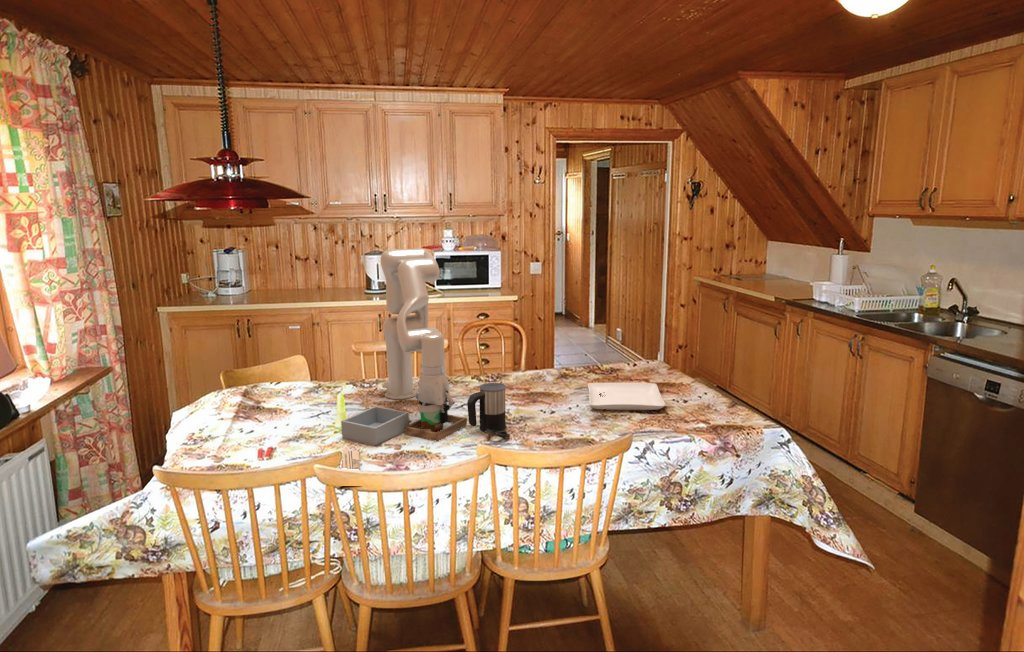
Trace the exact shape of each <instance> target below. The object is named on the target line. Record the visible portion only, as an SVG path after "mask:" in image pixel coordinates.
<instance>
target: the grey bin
mask: <svg viewBox="0 0 1024 652" xmlns="http://www.w3.org/2000/svg"><path fill="white" fill-rule="evenodd" d="M340 422H341V423H340V424H341V434H342V435H341V438H342V439H344V440H349V441H352V442H356V443H361V444H365V445H369V446H372V447H373V446H374V447H379V446H380V445H382V444H384V443H386V442H388V441H390V440H391V439H394V438H395V437H398V436H400V435H401V434H403V433H404V434H405V427H406V426H408V425H410V414H409V412H408V411H403V410H398V409H393V408H387V407H383V406H377V405H374V406H372V407H370V408H368V409H366V410H363V411H362V412H359V413H356V414H355V415H352V416H349V417H346V418H345V419H343V420H341V421H340Z"/></svg>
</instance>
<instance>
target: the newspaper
mask: <svg viewBox="0 0 1024 652" xmlns="http://www.w3.org/2000/svg"><path fill="white" fill-rule="evenodd" d="M342 452H343V460H342V464H341V468H347V469H359V470H361V469H362V468H361V461H360V453H359V452H360V451H358V450H345V451H342ZM361 471H362V470H361Z"/></svg>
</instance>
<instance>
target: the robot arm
mask: <svg viewBox="0 0 1024 652" xmlns="http://www.w3.org/2000/svg"><path fill="white" fill-rule="evenodd" d="M380 266H381V269H382V272H383V274H384V278H385V298H386V299H385V300H386V302H385V303H386V310H387V311H388V313H389V314H391V315H398V316H392V317H388V318H386V319H385V320H384V321H383V324H382V332H383V335H384V341H385V347H386V361H387V362H386V365H387V377H388V378H387V379H388V380H387V381H384V382H383V384H382V386H381V387H382V388H384V389H386V391H385V393H384V396H385V397H386V398H387V399H390V400H406V399H411V398H413V397H415V398H416V400H417V402H418V403H419V406H424V405H425V404H426V403H427V404H433V405H438V406H440V408H441V411H442V412H441V413H440V423H441V424H443V425H444V424H445V423H448V422H447V421H448V412H449V411H450V409H451V408H452V407H453V406H454V405H455V404H456V402H455V400H454V399H453V397H452V396H451V395H450V386H449V379H448V375H447V373H446V365H445V364H446V363H445V361H446V359H445V339H444V338H445V337H444V334H442V332H441V331H440V330H439V329H438V328H436V327H429V300H430V298H429V293H428V289H427V285H426V283H428V282H429V283H430V282H436V281H438V280H439V277H440V268H439V264H438V262H437V260H436V259H435V257H434V256H433V255H432V254H431V253H430V251H429V250H428V249H426V248H419V247H417V248H396V249H388V250H385V251H383V252H382V254H381V255H380ZM411 314H412V315H411ZM414 352H421V364H420V365H419V368H420V369H421V372H420V375H419V380H418V390H417V388H414V379H413V359H412V353H414ZM443 404H444V406H443ZM444 407H445V408H444Z"/></svg>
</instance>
